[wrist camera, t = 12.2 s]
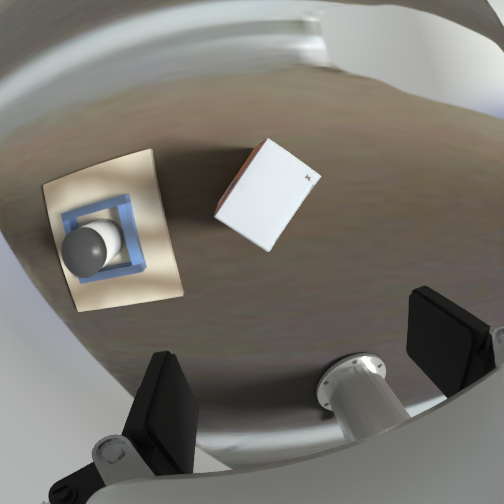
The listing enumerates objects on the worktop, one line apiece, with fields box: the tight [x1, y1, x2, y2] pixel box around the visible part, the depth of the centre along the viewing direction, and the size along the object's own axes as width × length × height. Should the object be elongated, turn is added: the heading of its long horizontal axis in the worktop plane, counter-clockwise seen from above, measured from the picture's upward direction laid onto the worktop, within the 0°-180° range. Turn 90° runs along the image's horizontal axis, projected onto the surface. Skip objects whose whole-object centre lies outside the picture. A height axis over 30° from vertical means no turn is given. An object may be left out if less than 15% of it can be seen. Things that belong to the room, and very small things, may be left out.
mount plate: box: [43, 149, 184, 312], centre depth 31 cm, size 18×16×3 cm
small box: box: [214, 138, 321, 252], centre depth 27 cm, size 8×6×10 cm
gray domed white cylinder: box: [61, 218, 124, 278], centre depth 28 cm, size 5×5×7 cm
